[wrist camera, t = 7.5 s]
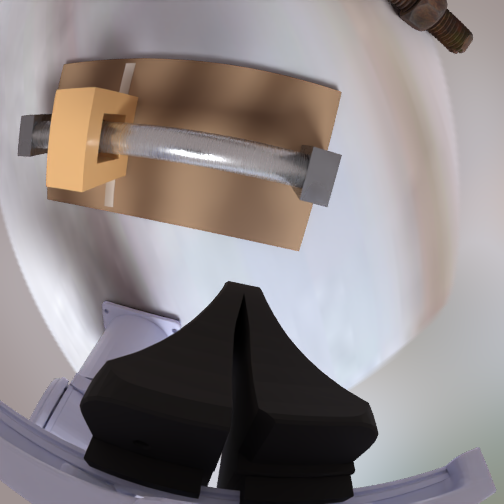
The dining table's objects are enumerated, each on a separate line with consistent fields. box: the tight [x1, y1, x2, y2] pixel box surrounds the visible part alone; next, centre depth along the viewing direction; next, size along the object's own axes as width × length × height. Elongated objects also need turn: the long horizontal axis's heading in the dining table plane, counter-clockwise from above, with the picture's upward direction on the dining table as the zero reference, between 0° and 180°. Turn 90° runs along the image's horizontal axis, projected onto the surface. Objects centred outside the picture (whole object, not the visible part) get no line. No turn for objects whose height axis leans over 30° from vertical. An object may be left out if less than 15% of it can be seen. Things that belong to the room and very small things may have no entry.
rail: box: [18, 114, 342, 207], centre depth 16 cm, size 22×3×5 cm, turn 78°
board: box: [47, 58, 341, 251], centre depth 18 cm, size 22×12×1 cm, turn 78°
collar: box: [46, 87, 138, 192], centre depth 14 cm, size 3×6×6 cm, turn 168°
